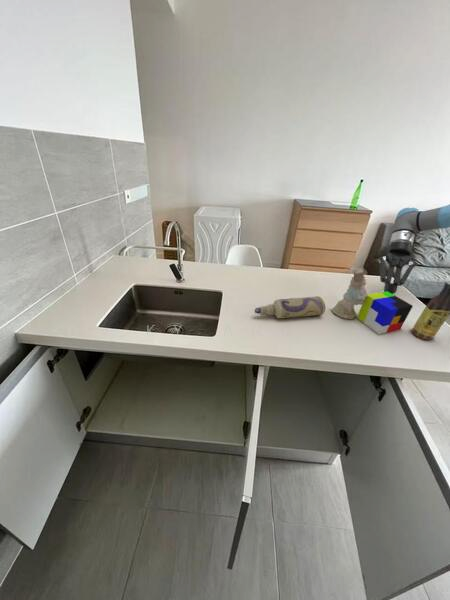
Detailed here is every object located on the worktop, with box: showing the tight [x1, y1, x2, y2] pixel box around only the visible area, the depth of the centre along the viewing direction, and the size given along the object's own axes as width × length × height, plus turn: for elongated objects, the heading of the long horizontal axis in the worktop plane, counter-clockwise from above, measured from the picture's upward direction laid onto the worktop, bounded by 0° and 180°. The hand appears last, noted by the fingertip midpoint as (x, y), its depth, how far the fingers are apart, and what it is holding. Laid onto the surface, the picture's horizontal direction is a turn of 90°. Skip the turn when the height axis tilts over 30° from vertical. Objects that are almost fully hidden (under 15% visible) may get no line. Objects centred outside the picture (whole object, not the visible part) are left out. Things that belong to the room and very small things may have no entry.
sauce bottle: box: [411, 281, 450, 341], centre depth 79 cm, size 6×6×20 cm
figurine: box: [331, 267, 367, 320], centre depth 87 cm, size 9×8×20 cm
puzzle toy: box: [356, 291, 414, 335], centre depth 86 cm, size 10×10×10 cm
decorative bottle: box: [254, 295, 326, 319], centre depth 88 cm, size 26×8×7 cm, turn 101°
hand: (387, 300), depth 92 cm, fingers closed
